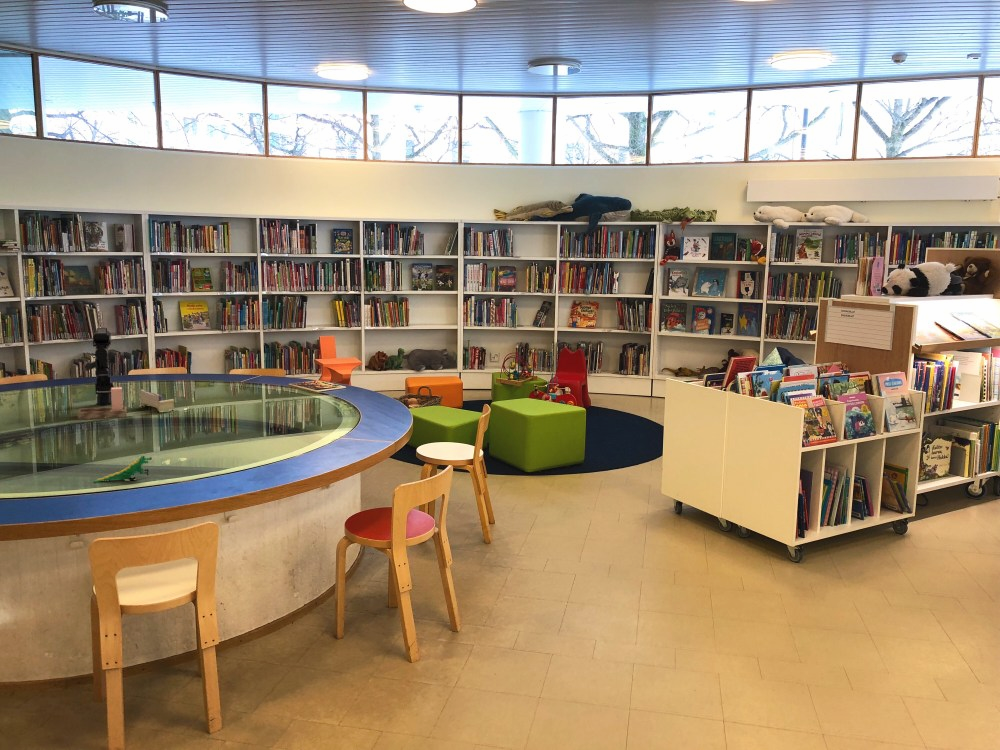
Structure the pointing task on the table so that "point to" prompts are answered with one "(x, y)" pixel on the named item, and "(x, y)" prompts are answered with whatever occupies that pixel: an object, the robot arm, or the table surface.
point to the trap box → (101, 413)
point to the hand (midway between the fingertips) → (103, 385)
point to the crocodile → (129, 470)
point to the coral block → (116, 398)
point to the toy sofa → (155, 401)
